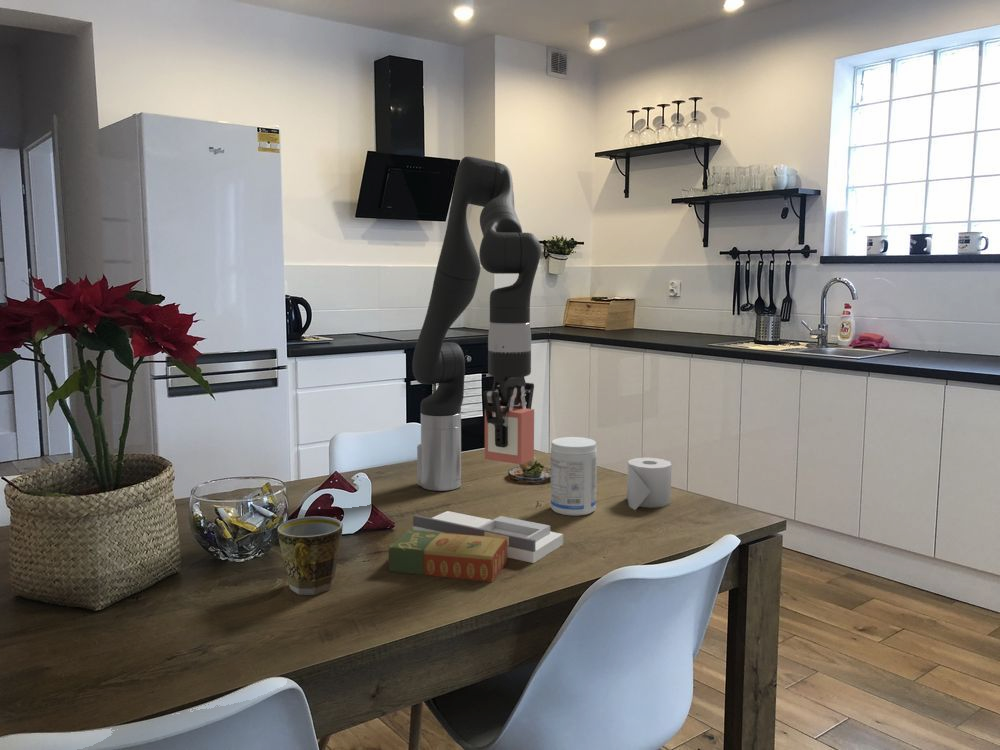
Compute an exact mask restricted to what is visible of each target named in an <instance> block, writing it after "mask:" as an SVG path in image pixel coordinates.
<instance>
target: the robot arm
mask: <svg viewBox="0 0 1000 750" xmlns="http://www.w3.org/2000/svg"><path fill="white" fill-rule="evenodd" d="M453 183H454V184H453V188H452V194H451V200H450V208H449V213H448V219H447V225H446V229H445V235H444V238H443V243H442V247H441V250H440V254H439V258H438V261H437V267H436V270H435V273H434V277H433V278H434V279H433V282H432V283H433V284H432V288H431V289H432V290H431V293H430V298H429V303H428V307H427V310H426V314H425V318H424V321H423V324H422V328H421V330H420V333H419V335H418V339H417V342H416V345H415V348H414V352H413V356H412V374H413V377H414V379H415V380H416V382H418V383H419V384H421V385H437V384H438V385H437V388H436V389H435V391H434V392H433V393H432V394H430V395H428V396H427V397H425V398H423V399H422V400H421V402H420V444H418V445H417V446H416V450H417V453H416V454H417V457H416V458H417V461H416V463H417V486H420V487H422V489H424V490H429V491H437V492H438V491H439V492H441V491H444V492H445V491H452V490H453V491H454V490H456V489H458V488H460V487H461V486H462V413H461V412H462V404H463V402H464V393H465V375H466V364H465V363H466V361H465V356H464V355H465V354H464V352H463V349H462V347H461V346H460V345H459V344H458V343H456V342H454V341H452V342H450V341H447V342H446V341H445V342H444V340H445V337H446V335H447V333H448V332H449V330H450V328H451V326H452V325H453V324H454V323H455V322H456V321H457V319H458V318H459V317H460V316H461V314H462V313H464V311H465V310H466V309H467V307H469V305H470V304H471V302H472V300H473V299H474V296H475V293H476V290H477V287H478V283H479V282H478V281H479V280H480V279H479V278H480V273H481V269H482V268H483V269H484V270H485V271H486V272H487V273H491V274H496V275H497V274H500V275H501V274H503V275H504V274H506V275H507V274H510V275H512V274H515V275H516V274H518V276H517V279H516V281H515V282H514V283H513V284H510V285H507V286H502V287H499V288H495V289H493V290H492V291H491V292H490V293H489V326H488V327H489V329H488V334H487V336H488V337H487V348H488V349H487V350H488V351H487V354H488V355H487V363H488V364H487V372H488V375H489V376H492V377H493V378H494V379H493V385H492V389H491V390H484V391H483V393H482V396H483V397H482V398H483V403H484V404H483V405H484V412H485V411H486V417H487V422H488V423H491V424H493V425H495V445H496V446H497V447H507V445H508V426H507V425H508V417H509V413H511V412H512V411H513V408H522V409H523V408H526V409H532V403H533V396H534V390H535V389H534V388H535V384H534V383H533V382H527V381H526V378H525V377H528V376H530V375H531V373H532V332H531V294H532V289H533V286H534V285H533V284H534V280H535V276H536V273H537V269H538V268H539V263H540V260H541V255H542V248H541V244H540V243H541V242H540V241H539V239H538V238H537V236H536V235H535V234H534V233H532V232H523V227H522V225H521V223H520V220H519V217H518V215H517V213H516V210H515V196H514V183H513V176H512V173H511V170H510V169H509V167H508V166H507V165H505V164H503V163H500V162H496V161H492V160H487V159H482V158H479V157H475V156H464V157H462V159H461V160H460V162H459V164H458V166H457V170H456V173H455V177H454V182H453ZM468 205H473V206H478V207H482V209H481V211H480V215H479V226H480V231H481V233H482V236H483V237H482V239H481V242H480V247H479V255H478V252H477V249H476V248H475V245H474V242H473V239H472V237H471V234H470V229H469V226H468V221H467V210H468ZM481 267H482V268H481ZM501 406H505V407H506V408H501ZM492 412H494V416H492ZM501 412H503V413H504V415H503V419H502V413H501Z"/></svg>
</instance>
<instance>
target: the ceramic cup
mask: <svg viewBox="0 0 1000 750" xmlns="http://www.w3.org/2000/svg"><path fill="white" fill-rule="evenodd" d="M343 527H344V525H343V522H342V521H340V520H339V519H337V518H334V517H329V516H318V515H317V516H305V517H297V518H294V519H289V520H287V521H285V522H283V523H281V524H280V525H278V527H277V537H278V542H279V547H280V550H281V554H282V558H283V563H284V568H285V572H286V576H287V581H288V586H289V588H290V590H291V591H292V592H294V593H296V594H297V595H301V596H302V595H303V596H305V595H306V596H315V595H318V594H322V593H325V592H328V591H330V590H331V588H332V586H333V585H334V582H335V579H336V578H335V577H336V571H337V565H338V558H339V550H340V547H341V542H342V535H343Z"/></svg>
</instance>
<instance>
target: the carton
mask: <svg viewBox="0 0 1000 750" xmlns="http://www.w3.org/2000/svg"><path fill="white" fill-rule="evenodd" d="M387 554H388V555H387V556H388V558H387V561H388V571H389V572H396V573H406V574H415V575H422V576H423V575H425V576H433V577H441V578H452V579H460V580H469V581H470V580H471V581H477V582H478V581H479V582H480V581H481V582H490V583H493V582H494V581H495V579H496V578H497V576H498V575H499V574H500V573H501V571H502V570H503V569H504V567H505V566H506V565H507V563H508V557H507V539H506V538H501V537H490V536H477V535H464V534H454V533H442V532H431V531H418V530H413V529H408V530H407V531H406V532H404V534H403V535H401V536H400V537H399V538H398V539H397V540H396V541H394V542H393V543H392V544H391V545H390V546H389V547H388V553H387Z"/></svg>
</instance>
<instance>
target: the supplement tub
mask: <svg viewBox="0 0 1000 750" xmlns="http://www.w3.org/2000/svg"><path fill="white" fill-rule="evenodd" d="M597 450H598V449H597V442H596V441H595V440H594V439H592V438H589V437H580V436H564V437H558V438H554V439H553V440H552V441H551V447H550V468H551V479H550V508H551V509H552V510H553V511H554V512H555V513H557V514H559V515H563V516H575V517H576V516H577V517H579V516H585V515H589V514H591V513H593V512H594V511H595V510H596V509H597V465H598V463H597V459H598V457H597Z"/></svg>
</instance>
